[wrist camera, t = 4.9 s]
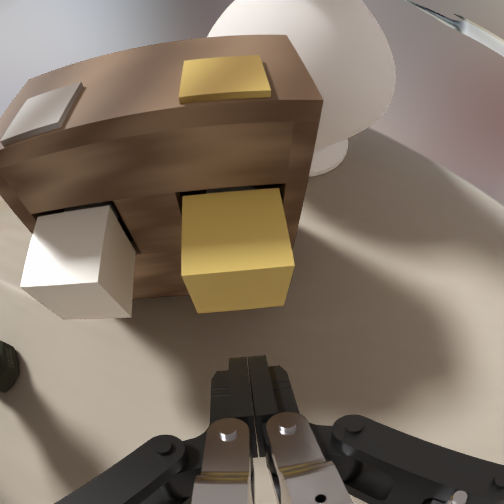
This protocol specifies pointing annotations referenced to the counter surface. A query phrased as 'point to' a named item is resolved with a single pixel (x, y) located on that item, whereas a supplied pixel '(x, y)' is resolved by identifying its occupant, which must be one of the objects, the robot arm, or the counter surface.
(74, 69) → the brown wooden block
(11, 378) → the grenade
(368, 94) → the decorative vase
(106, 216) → the ivory button
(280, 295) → the mustard button
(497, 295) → the counter surface
